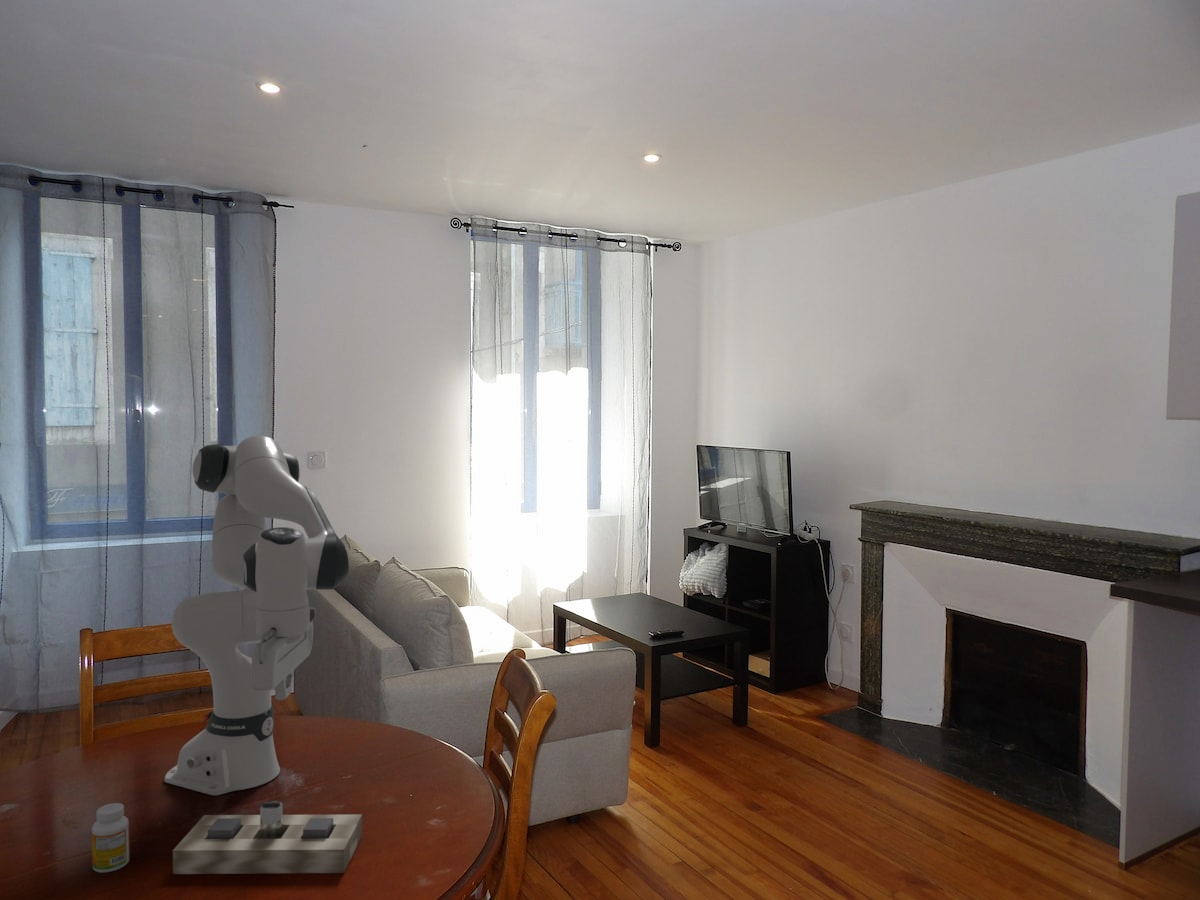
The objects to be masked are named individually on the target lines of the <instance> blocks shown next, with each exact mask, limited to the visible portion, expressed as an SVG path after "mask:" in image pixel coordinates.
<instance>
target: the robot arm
mask: <svg viewBox="0 0 1200 900" xmlns="http://www.w3.org/2000/svg"><path fill="white" fill-rule="evenodd" d="M299 464H300V463H299V461H298V459H297V457H296V455H294V454H292V453H289V452H286V451H284V450H282V448H281V447H280V445H279V444H278V443H277V442H276V440H275V439H273V438H271V437H269V436H266V435H261V434H260V435H259V434H256V435H252V436H249V437H246V438H244V439H243V440H242V441H241V442H240V443H239V444H238V445H222V444H220V443H219V444H218V443H217V444H207V445H204V446H203V447H202V448H200V449H199V450H198V452H197V455H196V456H195V458H194V459H193V463H192V476H193V479H194V483H195V485H196V486H197V488H198V489H199V490H202V491H206V492H208V493H213V494H214V493H215V492H216V493H219V494H224V495H225V496H223V497H222V498H221V499H220V500H219V501H218V503H217V505H216V508H215V512H214V518H213V524H212V536H211V537H212V540H211V544H212V546H211V547H212V555H211V556H212V558H211V559H212V560H211V561H212V570H213V573H214V574H215V575H216V576H217V577H218V578H219V579H220V580H222V582H224V583H226V584H228V585H231V586H234V587H236V588H239V589H240V590H234V591H233V590H232V591H220V592H219V591H218V592H205V593H202V594H197V595H194V596H190V597H187V598H184V599H182V600H181V601H180V602H179V603H178V604H177V606H176V607H175V609H174V612H173V615H172V618H171V630H172V632H173V635H174V637H175V639H176V640H177V641H178V642H179V643H180V644H181V645H182V646H183V647H185V648H188V650H190V651H192V652H193V653H195V654H196V655H197V656H198V657H199V658H200V659H201V661H202V662H203V663H204V665H205V666H206V668H207V670H208V672H209V675H210V679H211V680H210V681H211V686H212V687H211V688H212V697H213V698H212V700H213V701H212V702H213V709H212V710H210V711H209V712H208V713H207V714H205V715H203V716H201V718H202V720H201V723H204V722H206V721H207V725H206V726H205V728H204V729H203V730H202V731H200V732H199V733H198V734H197V735H195V736H194V737H193V738H191V739H190V740H189V741H188V742H186V743H185V744H184V745H183V747H181V749H180V751H179V753H178V758H177V764H176V765H175V766H173V767H172V768H171V769H170V770H169V771H167V773H166V774H165V776H164V783H167V784H170V785H173V786H177V787H182V788H185V789H188V790H192V791H195V792H200V793H202V794H206V795H209V796H210V795H211V796H220V795H224V794H227V793H230V792H235V791H242V790H246V789H251V788H256V787H259V786H262V785H264V784H267V783H270V782H271V781H272V780H273V779H275V778H276V777H277V776H278V775H280V772H281V767H280V765H279V762H278V758H277V754H276V753H277V752H276V748H275V744H274V742H275V741H274V735H273V734H274V733H273V732H274V726H275V725H274V724H275V720H274V718H275V717H274V714H275V713H274V705H273V703H272V690H274V699H275V700H277V701H284V700H285V699H287V698H288V697H289V696H290V695H291V693H292V683H293V678H294V676H295V669H296V668H298V667H299V665H301V664H302V663H303V662H304V660H306V659H307V658H308V657H309V656H310V654H311V651H312V647H313V641H314V640H313V638H314V622H313V621H314V620H315V619H316V612H317V610H316V608H315V607H313V606H310V600H309V596H308V594H307V593H308V592H307V591H308V590H309V591H310V590H317V591H318V590H319V591H321V590H325V591H326V590H328V591H329V590H334V589H336V588H337V587H338V586H339V585H340V584H341V583H342V582H343V581H344V580H345V579H346V578H347V577H348V575H349V570H350V561H349V560H350V559H349V554H348V550H347V549H346V546H345V544H344V542H343V541H342V540H341V538H339V536H338V535H337V534H336V532H335V530H334V528H333V526H332V524H331V522H330V521H329V518H328V517H327V515H326V513H325V510H324V509H323V507H322V505H321V503H320V502H319V500H318V498H317V496H316V495H315V493H314V492H313V490H312V489H311V488H309V487H307V486H305V485H304V484H302V483H301V482H299V481H300V476H301V470H300V465H299ZM266 519H275V520H281V521H287V522H291V523H295V524H297V525H299V526H301V528H303V529H304V532H305V534H306V536H307V537H308V538H306V537H305V535H304V533H303V532H302V531H301V530H300V529H297V528H292V527H284V526H281V527H273V528H272V527H271V528H268V529H267V524H266ZM248 644H255V645H254V647H253V651H252V655H251V657H250V656H247V655H245V654H244V653H242V652H241V651H240V650H239V649H238V648H239V646H242V645H248Z"/></svg>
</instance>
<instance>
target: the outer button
mask: <svg viewBox="0 0 1200 900" xmlns="http://www.w3.org/2000/svg"><path fill="white" fill-rule="evenodd" d="M332 831H333V818H310V819H309V821H308V823H307V824H306V826H305V827H304V829H303V839H325V838H329V837H330V835H331V833H332Z"/></svg>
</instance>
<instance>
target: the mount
mask: <svg viewBox="0 0 1200 900" xmlns="http://www.w3.org/2000/svg"><path fill="white" fill-rule="evenodd" d="M310 818H333V831H332V833H331V835H330V837H329V838H325V839H303V829H304V827H305V826H306V824H307V823H308V821H309V819H310ZM217 819H241V830H240V831H239V832H238V833H237V835H236V836H235V837H234V839H208V829H209V828H210V827H211V826H212V825H213V823H214V822H215V821H216V820H217ZM362 837H363V814H355V813H354V814H283V834H282V835H281V836H280V837H278V838H276V839H262V838H261V837H260V814H205V815H203V816H202V817H201V818H200V819H199V820H198V821H197V822H196V824H195V825H194V826H193V827H192V828H191V829H190V831H189V832H188V833H187V834H186V835H185V836H184V837H183V838H182V839H181V841H180V842H178V844H176V846H175V847H174V849H172V874H173V875H203V874H204V875H209V874H210V875H214V874H215V875H216V874H217V875H224V874H225V875H228V874H229V875H231V874H232V875H234V874H235V875H236V874H243V875H246V874H251V875H252V874H256V875H257V874H345V873H346V870H347V868H348V867H349V863H350V862H351V861H352V857H353V856H354V854H355V851H356V849H357V847H358V845H359V843H360V841H361V840H362Z"/></svg>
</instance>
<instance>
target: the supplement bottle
mask: <svg viewBox="0 0 1200 900" xmlns="http://www.w3.org/2000/svg"><path fill="white" fill-rule="evenodd" d="M95 816H96V821H95V822H94V824H92V827H91V854H92V856H91V857H92V858H91V860H92V861H91V862H92V869H93V870H94V871H95V872H97V873H103V874H104V873H110V872H113V871H117V870H120V869H122V868H123V867H125V866H126V865H127V864H129V862H130V822H129V819H128V817H127V816H125V806H124V804H122V803H120V802H113V803H108V804H105V805H102V806H101V807H98V809H97V810H96V815H95Z"/></svg>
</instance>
